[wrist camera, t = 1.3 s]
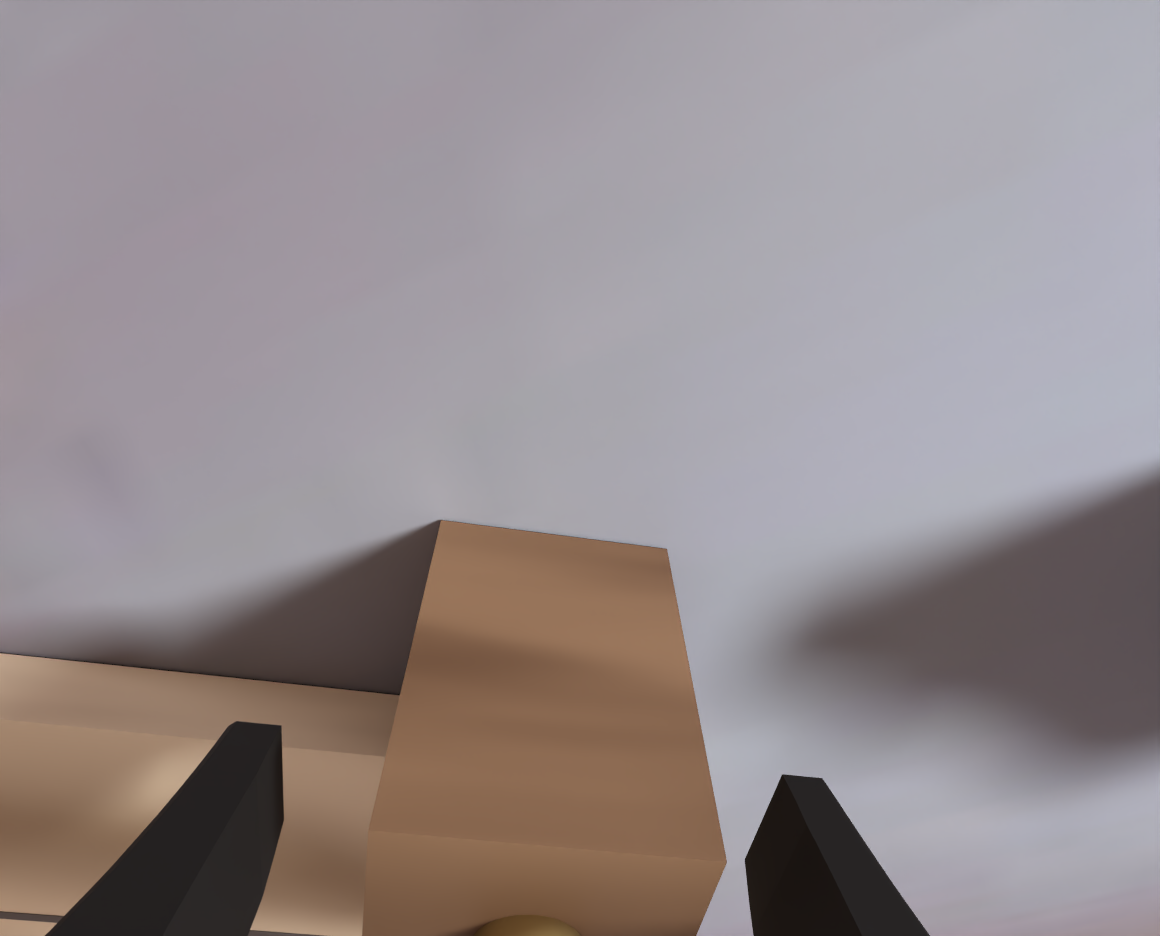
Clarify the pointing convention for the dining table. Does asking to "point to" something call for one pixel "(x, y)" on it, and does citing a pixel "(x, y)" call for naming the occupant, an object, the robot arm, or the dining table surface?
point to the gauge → (544, 750)
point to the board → (177, 783)
